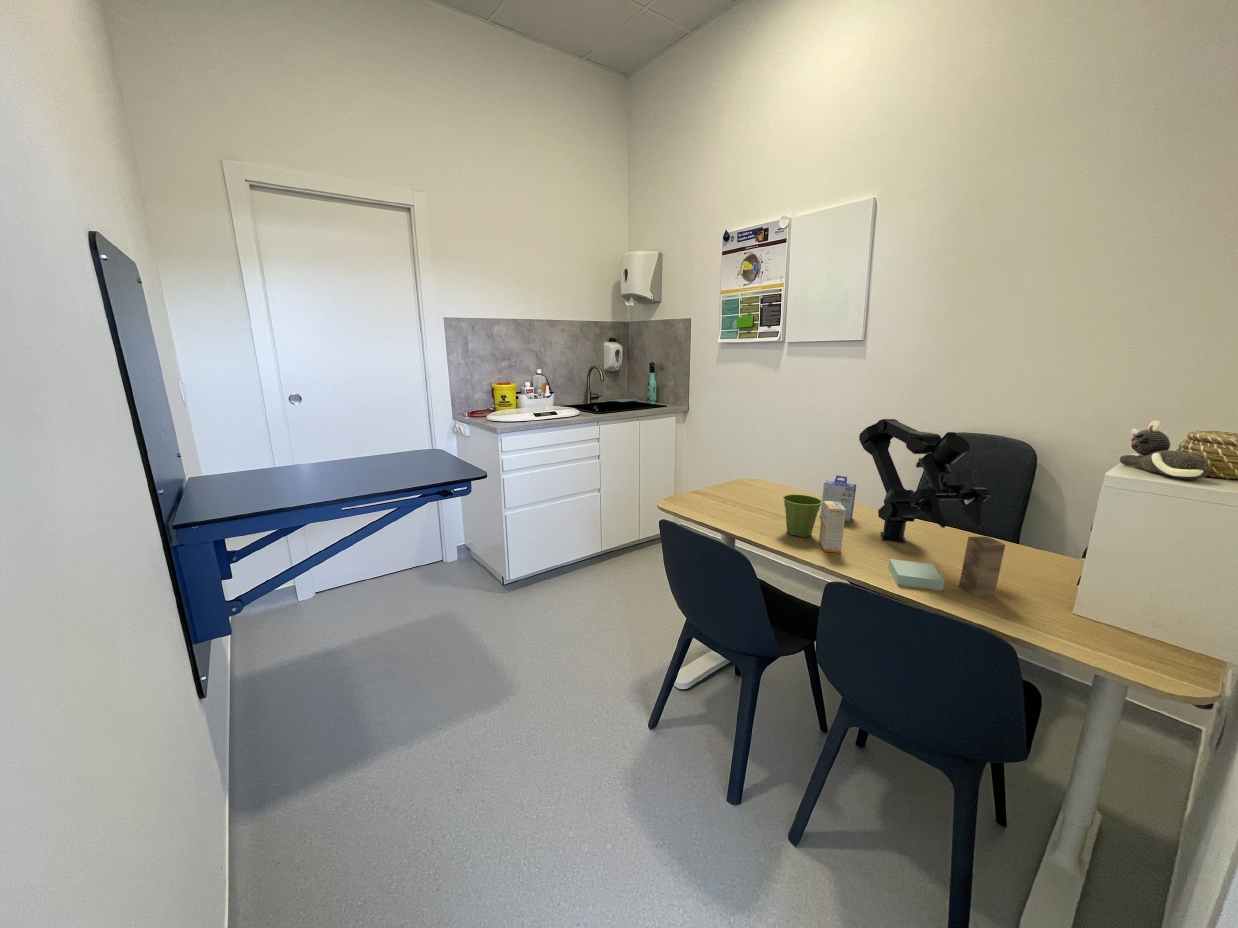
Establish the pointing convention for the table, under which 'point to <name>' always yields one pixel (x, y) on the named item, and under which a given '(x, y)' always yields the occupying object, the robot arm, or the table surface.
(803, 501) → the plant pot
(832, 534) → the supplement box
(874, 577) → the table surface
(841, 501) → the ink cartridge box
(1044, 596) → the table surface
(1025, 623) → the table surface
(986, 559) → the walnut block
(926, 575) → the sage green base block
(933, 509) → the robot arm
